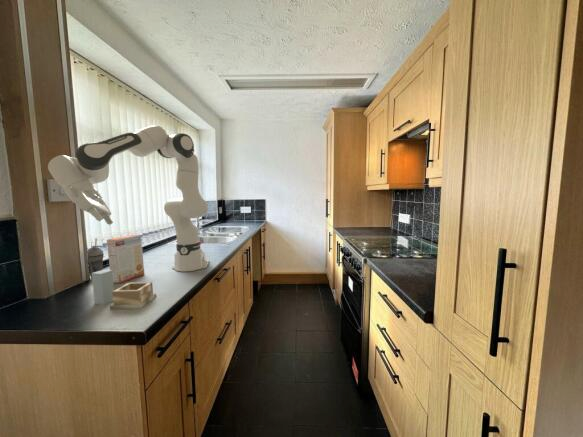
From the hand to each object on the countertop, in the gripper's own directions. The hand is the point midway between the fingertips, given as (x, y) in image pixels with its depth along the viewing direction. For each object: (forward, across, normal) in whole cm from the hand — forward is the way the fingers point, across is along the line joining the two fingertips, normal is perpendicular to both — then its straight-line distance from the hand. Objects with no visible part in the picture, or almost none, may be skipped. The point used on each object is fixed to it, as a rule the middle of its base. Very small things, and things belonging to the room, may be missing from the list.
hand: (105, 221), depth 100 cm
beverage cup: (+8, +40, +27) cm, 48 cm away
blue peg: (+24, +5, +18) cm, 31 cm away
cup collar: (+32, +1, +10) cm, 33 cm away
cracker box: (+18, +33, +15) cm, 41 cm away
